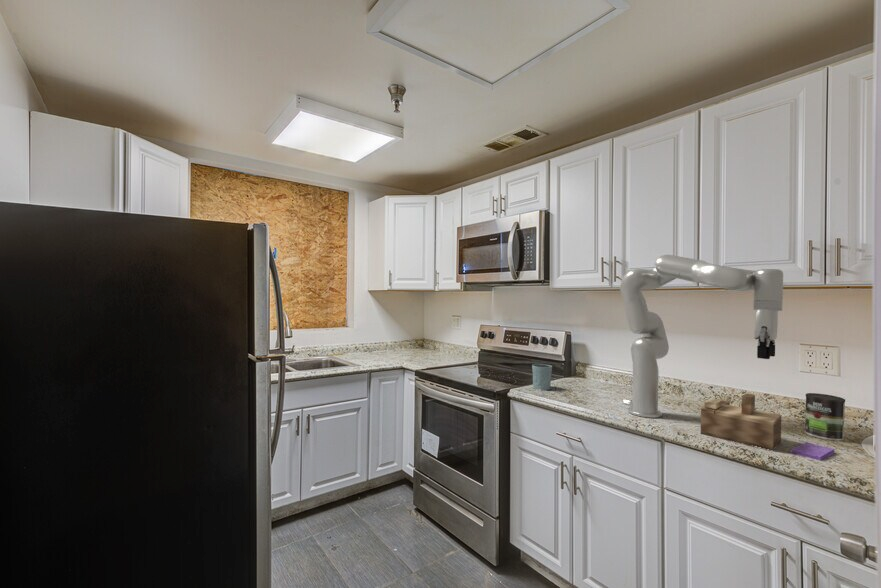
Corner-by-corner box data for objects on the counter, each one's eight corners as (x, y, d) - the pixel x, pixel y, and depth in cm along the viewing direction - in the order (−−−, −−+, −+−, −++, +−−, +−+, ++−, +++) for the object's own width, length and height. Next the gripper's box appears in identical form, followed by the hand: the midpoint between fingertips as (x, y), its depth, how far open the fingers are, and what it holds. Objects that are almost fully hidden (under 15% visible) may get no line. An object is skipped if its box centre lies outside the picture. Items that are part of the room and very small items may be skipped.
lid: (704, 411, 142) (704, 392, 142) (715, 405, 152) (716, 386, 152) (773, 425, 128) (773, 403, 128) (781, 417, 137) (781, 397, 137)
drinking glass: (530, 389, 206) (531, 366, 206) (532, 385, 216) (532, 363, 216) (551, 391, 203) (552, 367, 203) (552, 387, 213) (552, 364, 213)
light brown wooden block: (704, 406, 144) (704, 401, 144) (711, 403, 149) (711, 397, 149) (716, 409, 141) (716, 403, 141) (722, 405, 147) (722, 399, 147)
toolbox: (700, 433, 143) (701, 408, 143) (716, 423, 156) (717, 399, 156) (772, 450, 128) (773, 422, 128) (783, 437, 141) (784, 411, 141)
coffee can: (835, 442, 137) (836, 401, 137) (798, 433, 146) (799, 394, 147) (850, 439, 141) (851, 398, 141) (813, 429, 151) (814, 392, 151)
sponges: (834, 454, 128) (834, 448, 128) (820, 462, 121) (820, 456, 121) (806, 447, 134) (806, 441, 134) (790, 454, 127) (791, 448, 127)
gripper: (758, 305, 143) (757, 353, 143) (748, 305, 132) (746, 358, 132) (786, 306, 138) (784, 356, 138) (777, 306, 126) (776, 361, 126)
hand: (766, 357), depth 135 cm, fingers open, 9 cm apart
